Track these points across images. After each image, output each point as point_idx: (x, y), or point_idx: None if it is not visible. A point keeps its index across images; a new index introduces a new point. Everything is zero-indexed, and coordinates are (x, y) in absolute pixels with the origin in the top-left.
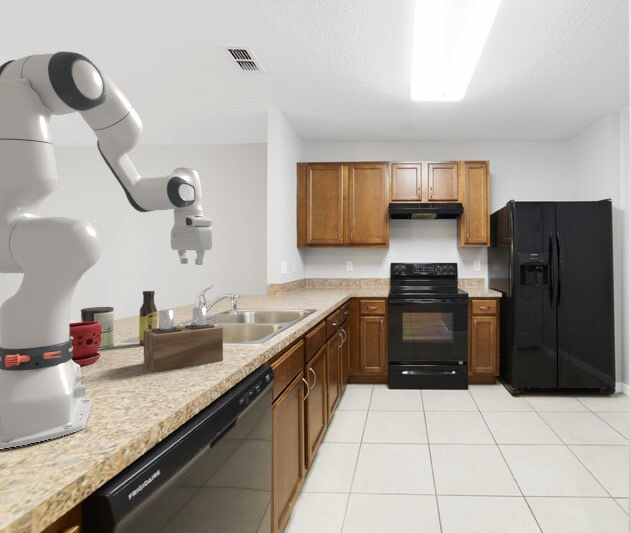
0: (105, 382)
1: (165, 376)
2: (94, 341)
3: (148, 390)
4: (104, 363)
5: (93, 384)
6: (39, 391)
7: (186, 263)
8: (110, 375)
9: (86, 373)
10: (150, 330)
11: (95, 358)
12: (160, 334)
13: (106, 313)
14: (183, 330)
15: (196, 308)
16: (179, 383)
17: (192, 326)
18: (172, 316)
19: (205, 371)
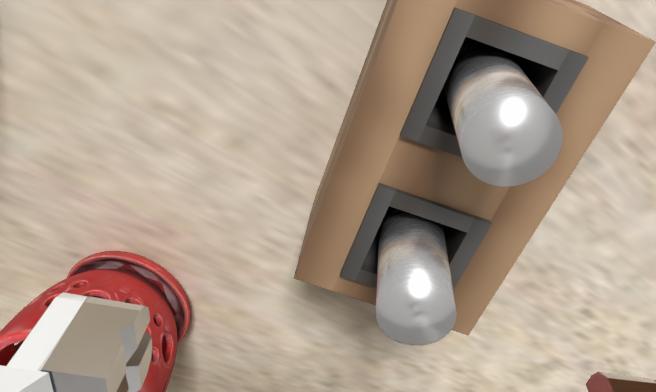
0: (416, 353)
1: (530, 258)
2: (162, 333)
3: (590, 345)
4: (203, 261)
5: (405, 371)
6: None
7: (149, 318)
8: (363, 318)
9: (282, 335)
10: (336, 273)
11: (180, 287)
12: (469, 309)
13: None
14: (486, 207)
15: (519, 177)
16: (631, 280)
17: (432, 106)
18: (449, 281)
19: (626, 162)
